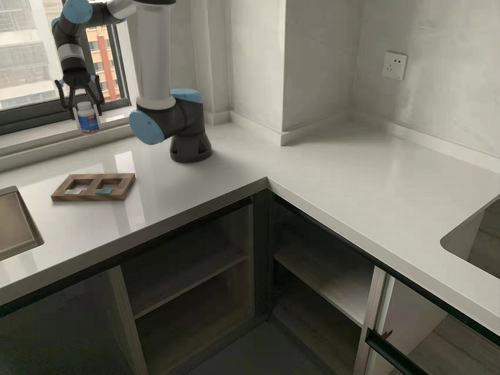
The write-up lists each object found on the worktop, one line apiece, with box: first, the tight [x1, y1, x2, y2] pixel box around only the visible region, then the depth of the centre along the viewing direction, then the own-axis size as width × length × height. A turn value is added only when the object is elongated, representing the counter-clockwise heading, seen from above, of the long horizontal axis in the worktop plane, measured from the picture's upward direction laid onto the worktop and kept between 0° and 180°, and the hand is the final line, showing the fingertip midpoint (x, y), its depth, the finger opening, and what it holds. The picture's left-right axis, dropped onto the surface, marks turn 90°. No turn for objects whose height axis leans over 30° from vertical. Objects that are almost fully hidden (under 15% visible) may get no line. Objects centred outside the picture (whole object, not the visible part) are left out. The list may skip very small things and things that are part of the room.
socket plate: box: [50, 172, 137, 203], centre depth 112 cm, size 21×13×2 cm, turn 90°
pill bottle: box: [76, 101, 101, 136], centre depth 117 cm, size 6×5×10 cm
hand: (89, 126), depth 115 cm, fingers closed on pill bottle, 5 cm apart
